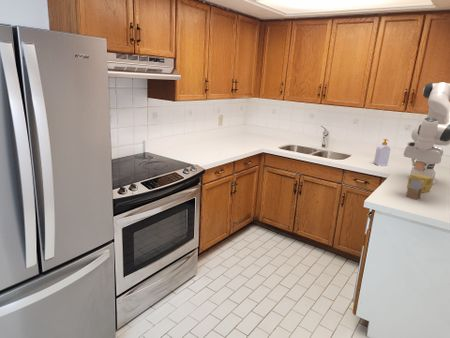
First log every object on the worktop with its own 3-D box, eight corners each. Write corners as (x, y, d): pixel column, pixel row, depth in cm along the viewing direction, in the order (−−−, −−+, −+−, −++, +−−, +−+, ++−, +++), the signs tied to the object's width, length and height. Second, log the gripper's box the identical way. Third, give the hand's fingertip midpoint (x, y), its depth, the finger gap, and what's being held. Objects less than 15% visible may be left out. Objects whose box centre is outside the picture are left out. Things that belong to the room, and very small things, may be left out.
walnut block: (409, 195, 206) (412, 186, 205) (419, 198, 202) (422, 189, 200) (405, 196, 203) (407, 187, 201) (415, 199, 198) (418, 190, 196)
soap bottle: (378, 166, 276) (383, 139, 270) (373, 163, 282) (378, 138, 276) (387, 166, 277) (393, 140, 271) (382, 164, 284) (388, 138, 277)
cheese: (420, 193, 211) (423, 178, 208) (405, 187, 221) (408, 174, 218) (430, 192, 215) (434, 177, 213) (415, 186, 225) (419, 173, 222)
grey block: (412, 186, 204) (414, 179, 202) (420, 189, 200) (422, 181, 199) (409, 187, 201) (411, 180, 199) (417, 190, 197) (419, 182, 196)
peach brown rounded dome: (416, 168, 201) (417, 160, 200) (424, 170, 197) (426, 162, 196) (412, 169, 198) (414, 161, 197) (421, 171, 194) (423, 163, 193)
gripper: (446, 148, 187) (440, 171, 191) (409, 141, 203) (404, 162, 207) (441, 149, 184) (435, 172, 187) (405, 142, 199) (400, 163, 203)
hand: (419, 167), depth 197 cm, fingers closed on peach brown rounded dome, 5 cm apart
